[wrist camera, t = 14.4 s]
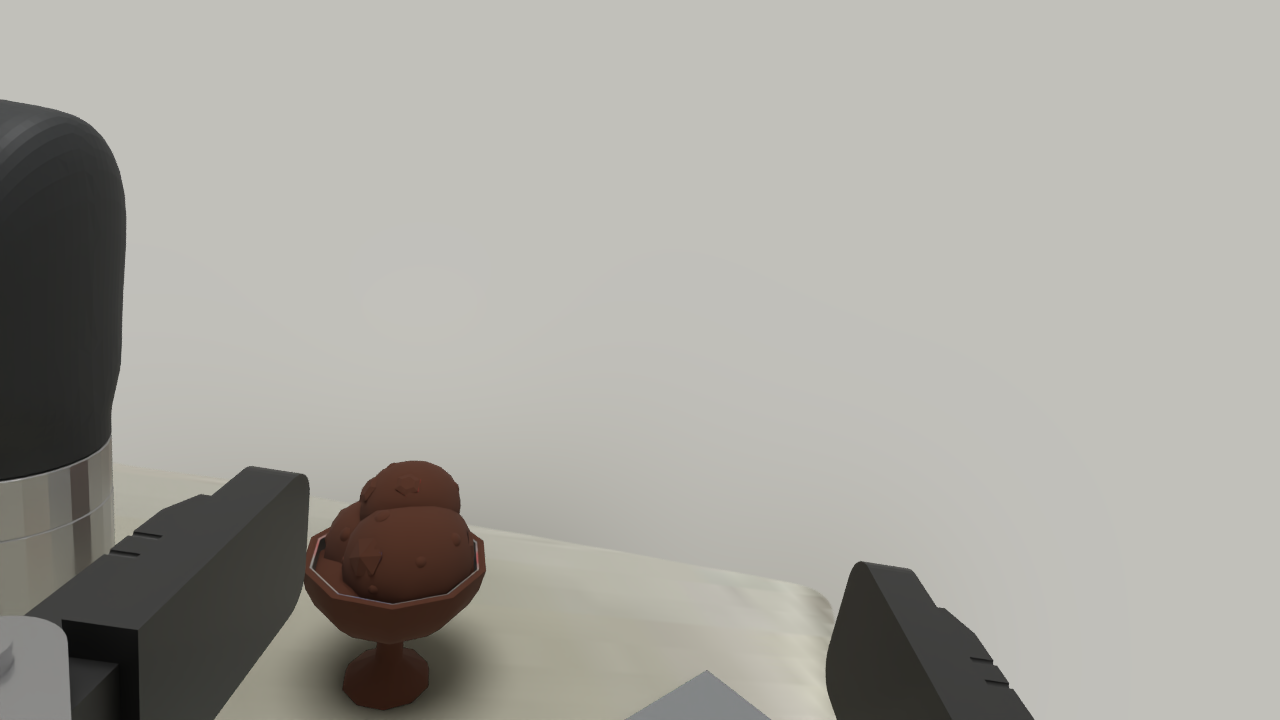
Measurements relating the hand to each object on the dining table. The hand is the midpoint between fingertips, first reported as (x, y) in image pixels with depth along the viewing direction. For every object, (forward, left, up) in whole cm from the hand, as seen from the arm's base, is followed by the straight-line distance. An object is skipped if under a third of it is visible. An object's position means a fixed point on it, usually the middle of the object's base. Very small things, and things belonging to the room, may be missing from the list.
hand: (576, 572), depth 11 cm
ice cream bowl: (-30, +14, -30) cm, 45 cm away
